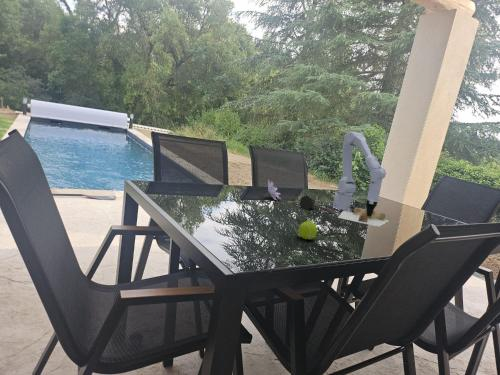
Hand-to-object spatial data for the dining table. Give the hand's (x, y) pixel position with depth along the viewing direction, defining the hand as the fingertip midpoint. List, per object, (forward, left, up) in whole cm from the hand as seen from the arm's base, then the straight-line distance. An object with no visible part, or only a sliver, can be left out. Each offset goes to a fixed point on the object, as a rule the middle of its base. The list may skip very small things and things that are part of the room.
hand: (369, 215), depth 205 cm
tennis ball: (-19, -68, -2) cm, 71 cm away
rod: (0, 0, -1) cm, 1 cm away
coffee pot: (-26, -10, -2) cm, 28 cm away
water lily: (-53, -6, -2) cm, 53 cm away
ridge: (-2, -12, -1) cm, 12 cm away
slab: (-2, -8, -2) cm, 8 cm away
